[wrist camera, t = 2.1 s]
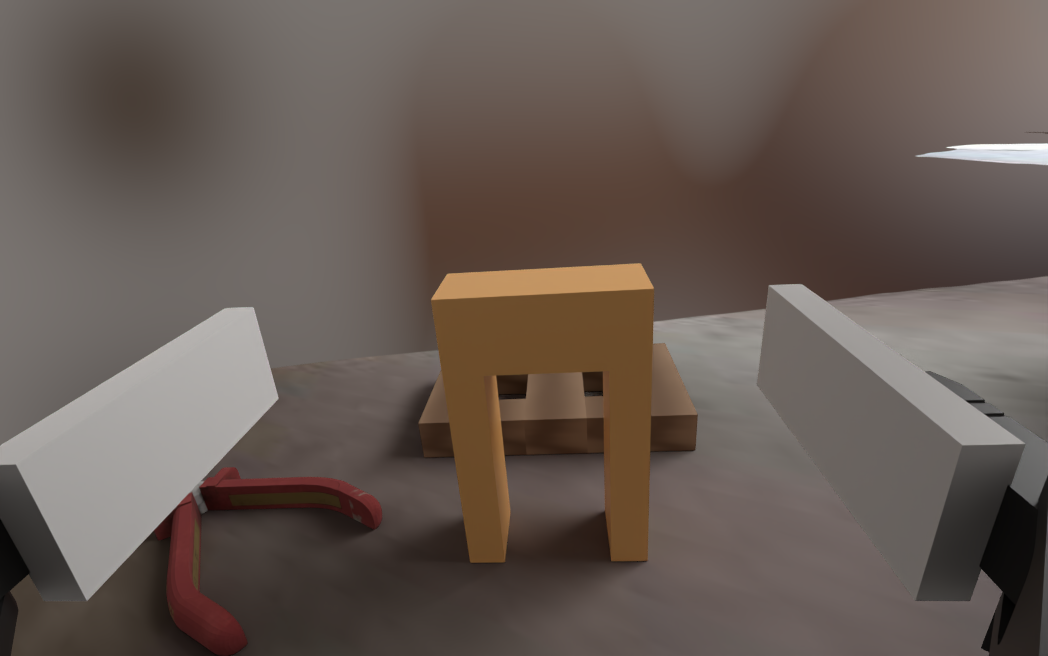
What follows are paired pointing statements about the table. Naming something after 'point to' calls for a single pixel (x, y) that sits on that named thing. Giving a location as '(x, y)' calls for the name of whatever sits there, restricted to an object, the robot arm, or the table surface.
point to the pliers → (232, 494)
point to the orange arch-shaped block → (539, 348)
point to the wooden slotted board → (568, 413)
